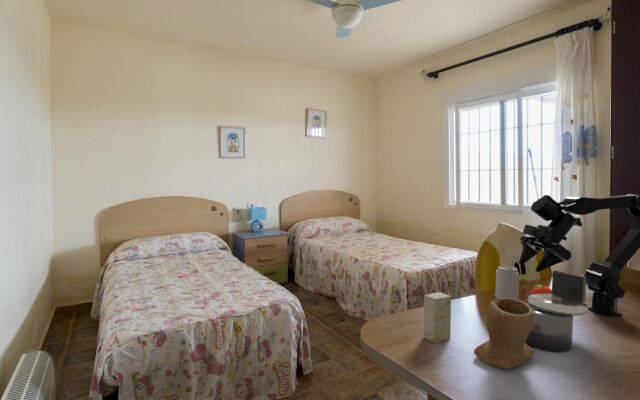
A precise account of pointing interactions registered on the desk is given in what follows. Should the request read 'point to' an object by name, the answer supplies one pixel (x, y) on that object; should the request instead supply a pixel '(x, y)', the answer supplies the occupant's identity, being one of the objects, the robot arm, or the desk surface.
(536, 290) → the clementine
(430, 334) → the skincare box
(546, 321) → the pot
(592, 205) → the robot arm
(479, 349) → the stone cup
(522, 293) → the desk surface
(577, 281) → the lid
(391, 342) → the desk surface
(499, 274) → the can
